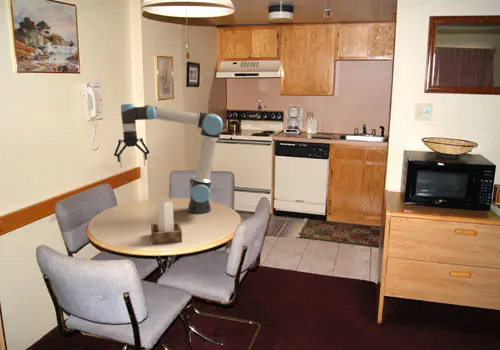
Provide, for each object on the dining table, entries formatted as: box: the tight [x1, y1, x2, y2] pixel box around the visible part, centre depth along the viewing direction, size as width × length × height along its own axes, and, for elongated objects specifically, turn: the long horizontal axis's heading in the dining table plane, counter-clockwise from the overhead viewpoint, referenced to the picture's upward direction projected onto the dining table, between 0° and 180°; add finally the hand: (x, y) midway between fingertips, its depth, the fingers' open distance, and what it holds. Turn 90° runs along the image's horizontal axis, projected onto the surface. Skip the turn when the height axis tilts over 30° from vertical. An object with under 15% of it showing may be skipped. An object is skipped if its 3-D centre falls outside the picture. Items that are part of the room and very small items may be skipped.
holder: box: [150, 221, 183, 245], centre depth 228 cm, size 15×15×6 cm
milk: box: [156, 196, 174, 232], centre depth 226 cm, size 6×6×22 cm
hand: (133, 166), depth 251 cm, fingers open, 13 cm apart
